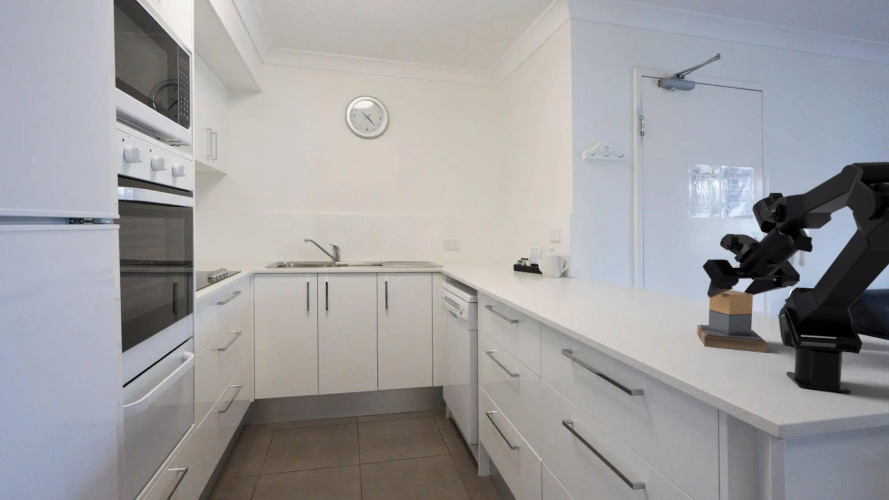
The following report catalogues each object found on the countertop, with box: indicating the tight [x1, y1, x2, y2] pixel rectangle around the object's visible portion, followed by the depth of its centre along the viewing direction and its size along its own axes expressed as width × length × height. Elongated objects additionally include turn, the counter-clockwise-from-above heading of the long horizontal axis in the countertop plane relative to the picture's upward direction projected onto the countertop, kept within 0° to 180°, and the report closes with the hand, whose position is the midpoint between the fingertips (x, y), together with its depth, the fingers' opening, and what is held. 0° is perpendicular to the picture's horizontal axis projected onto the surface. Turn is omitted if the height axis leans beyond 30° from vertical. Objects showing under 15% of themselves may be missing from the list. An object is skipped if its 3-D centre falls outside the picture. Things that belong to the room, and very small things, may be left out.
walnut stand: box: [696, 324, 768, 353], centre depth 93 cm, size 11×11×2 cm
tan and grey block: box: [708, 289, 754, 335], centre depth 92 cm, size 6×6×9 cm
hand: (727, 295), depth 93 cm, fingers open, 9 cm apart
